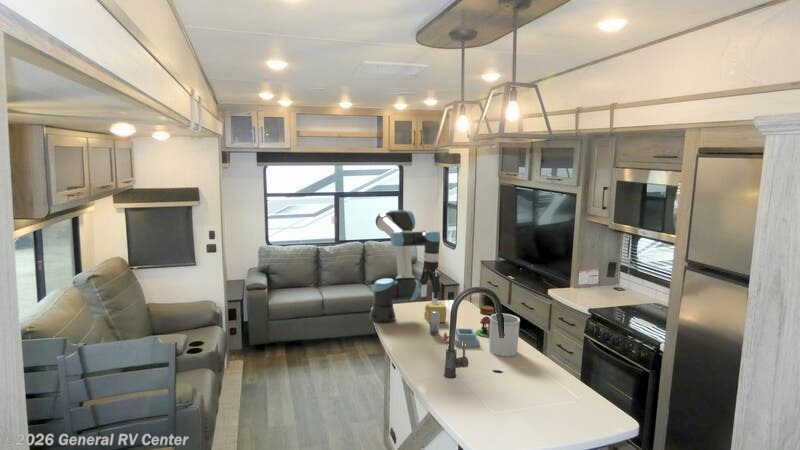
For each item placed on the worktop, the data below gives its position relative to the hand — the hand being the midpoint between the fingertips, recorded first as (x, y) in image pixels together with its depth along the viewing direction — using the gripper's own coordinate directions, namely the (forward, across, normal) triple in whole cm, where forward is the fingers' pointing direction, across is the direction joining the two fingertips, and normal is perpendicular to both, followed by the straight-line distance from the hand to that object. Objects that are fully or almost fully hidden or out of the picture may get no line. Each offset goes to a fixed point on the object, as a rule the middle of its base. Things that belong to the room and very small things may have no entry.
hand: (428, 300), depth 257 cm
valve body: (+22, +8, +16) cm, 28 cm away
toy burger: (+21, +2, +35) cm, 41 cm away
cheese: (+22, -26, +17) cm, 38 cm away
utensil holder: (+21, +26, +30) cm, 45 cm away
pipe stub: (+21, -6, +7) cm, 23 cm away
